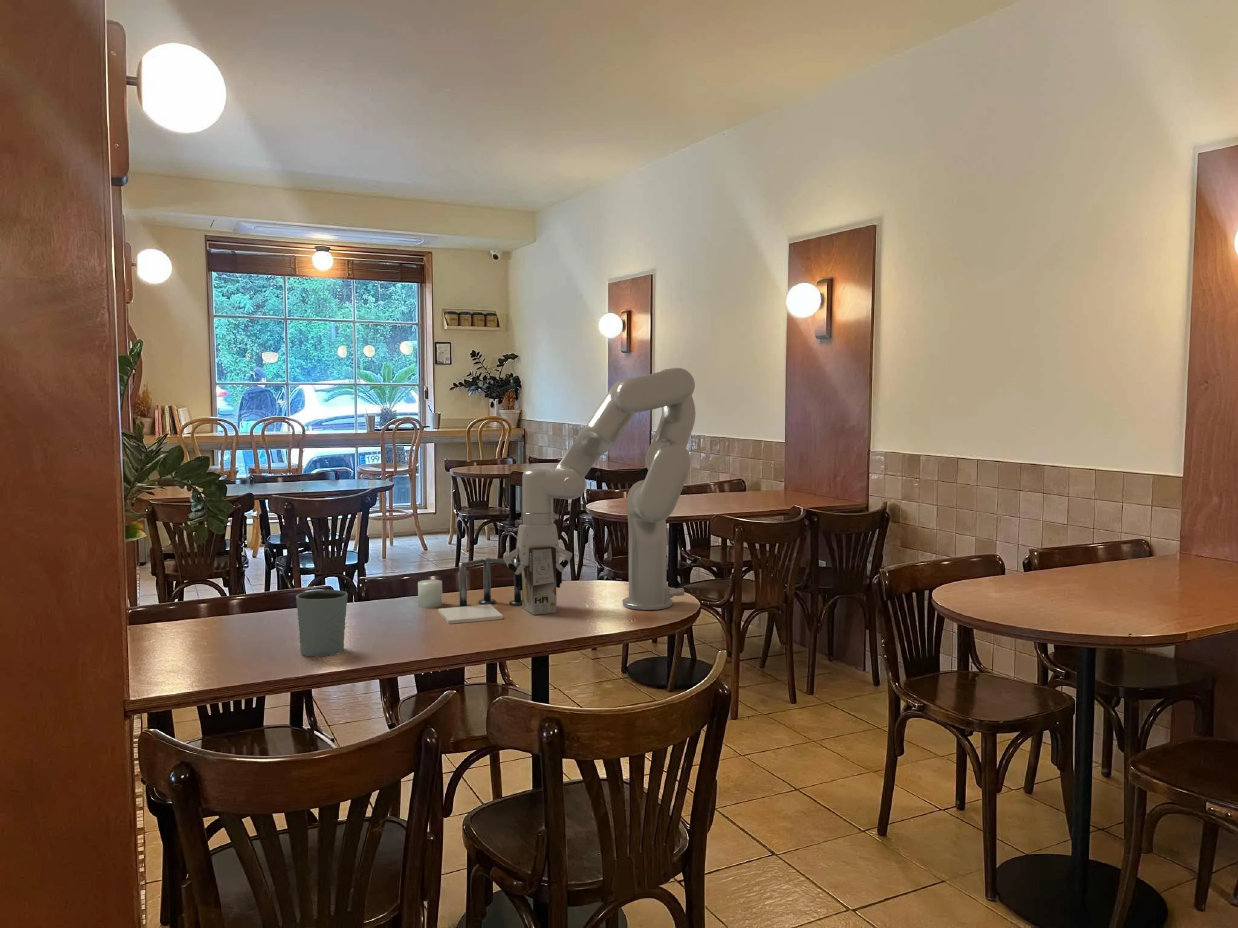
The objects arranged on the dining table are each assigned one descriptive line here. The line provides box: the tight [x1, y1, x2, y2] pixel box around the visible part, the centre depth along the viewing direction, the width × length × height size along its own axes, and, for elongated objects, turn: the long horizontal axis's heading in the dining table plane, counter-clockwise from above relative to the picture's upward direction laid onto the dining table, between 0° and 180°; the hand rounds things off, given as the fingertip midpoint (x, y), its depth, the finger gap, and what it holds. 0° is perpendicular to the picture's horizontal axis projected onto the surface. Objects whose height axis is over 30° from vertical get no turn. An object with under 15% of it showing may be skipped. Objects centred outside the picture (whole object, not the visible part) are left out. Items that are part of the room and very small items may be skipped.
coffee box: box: [521, 547, 558, 616], centre depth 228 cm, size 9×6×16 cm
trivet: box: [437, 604, 504, 625], centre depth 223 cm, size 13×13×1 cm
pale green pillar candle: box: [417, 579, 443, 609], centre depth 234 cm, size 6×6×6 cm
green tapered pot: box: [295, 589, 349, 657], centre depth 191 cm, size 10×10×12 cm
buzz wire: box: [453, 557, 522, 608], centre depth 234 cm, size 18×8×12 cm, turn 111°
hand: (538, 588), depth 228 cm, fingers open, 9 cm apart
